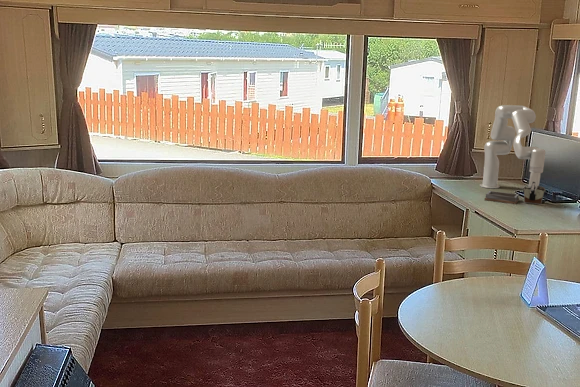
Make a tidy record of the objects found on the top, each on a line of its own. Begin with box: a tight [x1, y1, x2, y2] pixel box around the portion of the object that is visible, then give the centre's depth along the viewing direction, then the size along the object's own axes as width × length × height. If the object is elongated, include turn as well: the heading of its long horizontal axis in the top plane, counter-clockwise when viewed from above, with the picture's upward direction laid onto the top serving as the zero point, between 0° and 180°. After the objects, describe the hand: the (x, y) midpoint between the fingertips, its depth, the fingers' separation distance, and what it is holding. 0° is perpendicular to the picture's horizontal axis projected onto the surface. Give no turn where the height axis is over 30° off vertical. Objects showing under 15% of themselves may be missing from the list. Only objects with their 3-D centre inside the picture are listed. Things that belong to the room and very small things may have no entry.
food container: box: [523, 184, 546, 205], centre depth 338 cm, size 12×6×10 cm, turn 70°
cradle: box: [484, 190, 520, 205], centre depth 345 cm, size 13×18×4 cm
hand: (532, 198), depth 338 cm, fingers closed on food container, 5 cm apart
